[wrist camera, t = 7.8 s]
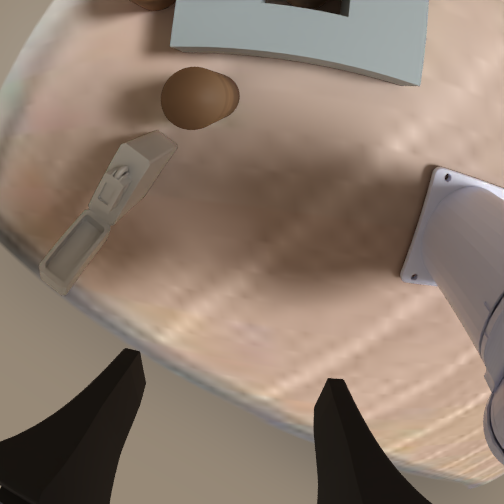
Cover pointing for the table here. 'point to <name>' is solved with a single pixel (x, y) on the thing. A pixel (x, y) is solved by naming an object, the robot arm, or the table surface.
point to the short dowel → (154, 4)
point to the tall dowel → (307, 3)
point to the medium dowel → (198, 97)
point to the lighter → (106, 207)
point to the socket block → (311, 34)
